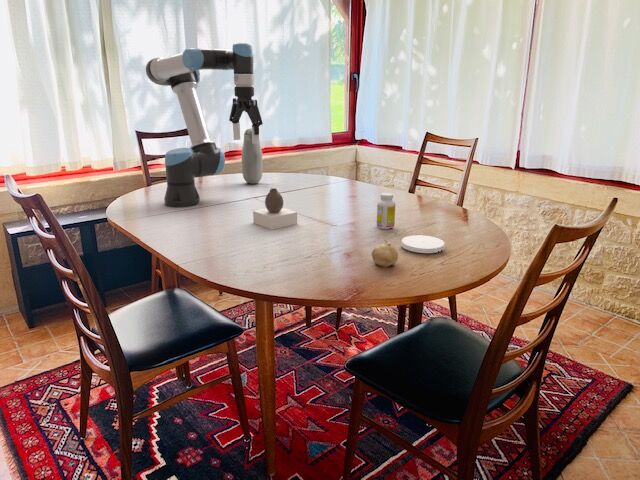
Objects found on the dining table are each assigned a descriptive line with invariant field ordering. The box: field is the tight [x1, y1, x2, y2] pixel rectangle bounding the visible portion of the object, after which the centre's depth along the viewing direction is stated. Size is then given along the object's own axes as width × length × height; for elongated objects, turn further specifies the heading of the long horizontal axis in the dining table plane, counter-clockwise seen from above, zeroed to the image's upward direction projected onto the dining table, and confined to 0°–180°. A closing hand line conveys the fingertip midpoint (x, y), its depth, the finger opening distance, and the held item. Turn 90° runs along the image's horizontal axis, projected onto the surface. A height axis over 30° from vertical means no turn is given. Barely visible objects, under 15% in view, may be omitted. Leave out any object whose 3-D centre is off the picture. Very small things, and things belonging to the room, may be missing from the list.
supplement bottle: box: [376, 192, 396, 230], centre depth 188 cm, size 7×7×13 cm
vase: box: [264, 188, 284, 213], centre depth 191 cm, size 7×7×9 cm
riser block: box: [252, 207, 298, 231], centre depth 194 cm, size 12×12×5 cm
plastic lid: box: [401, 234, 446, 254], centre depth 168 cm, size 14×14×2 cm
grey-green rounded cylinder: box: [241, 128, 263, 185], centre depth 259 cm, size 10×10×28 cm
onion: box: [371, 240, 399, 268], centre depth 153 cm, size 8×8×7 cm
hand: (246, 141), depth 202 cm, fingers open, 13 cm apart
